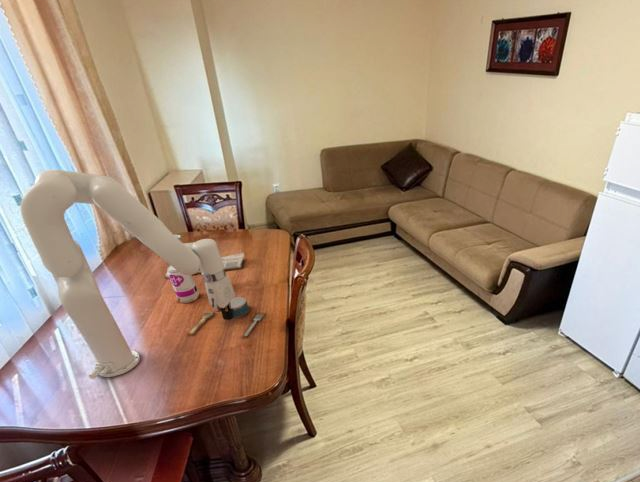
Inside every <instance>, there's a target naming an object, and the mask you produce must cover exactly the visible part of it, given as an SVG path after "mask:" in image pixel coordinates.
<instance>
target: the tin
mask: <svg viewBox="0 0 640 482" xmlns="http://www.w3.org/2000/svg"><path fill="white" fill-rule="evenodd" d="M230 304H231V308H230V309H231V311H232V314H233V318H232V319H231V320H237V319H240V318H243V317H245V316H246V315H248V314H249V312H250V308H249V304H248V301H247V299H246V297H242V296H235V297H234V298H233V299H232V300H231V301H230Z"/></svg>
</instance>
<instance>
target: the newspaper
mask: <svg viewBox="0 0 640 482" xmlns="http://www.w3.org/2000/svg"><path fill="white" fill-rule="evenodd" d="M220 257H221V256H220ZM244 257H245V252H241V253H235V254H232V255H227V256H222V257H221V260H222V263H223V266H224V269H225V271H229V270H235V269H236V270H237V269H242V267H243V262H244V260H243V259H244ZM196 274H197V275H198V274H202V273H201V270H200V269H199V271H198V272H197V273H195V274H194V275H196ZM165 277H166V278H167V279H168V278H169V276H168V273H167V272H166V273H165Z"/></svg>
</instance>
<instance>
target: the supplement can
mask: <svg viewBox="0 0 640 482" xmlns="http://www.w3.org/2000/svg"><path fill="white" fill-rule="evenodd" d="M166 273H168V276H169V277H168V278H169V281H170V284H171V285H172V288H173V291H174V293H175V295H176V298H177V300H178V302H180V303H182V304H188V303H192V302H194V301H196V300H197V299H198V297H199V296H200V293H199V291H198V288H197V285H196V283H195V280H194V277H193V275H184V274H182V273H180V272H178V271H177V270H176V269H175V268H173V267H172V266H171V265H170V264H169V266H167V272H166Z"/></svg>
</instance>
